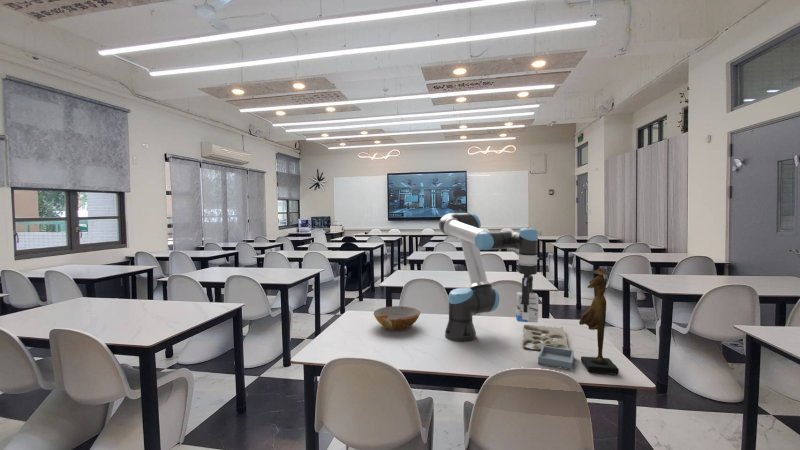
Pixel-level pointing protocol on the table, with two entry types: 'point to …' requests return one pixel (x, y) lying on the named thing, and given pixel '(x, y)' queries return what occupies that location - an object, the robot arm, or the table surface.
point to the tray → (556, 357)
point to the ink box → (532, 307)
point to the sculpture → (598, 326)
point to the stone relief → (544, 337)
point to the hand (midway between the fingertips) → (526, 317)
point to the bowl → (396, 317)
